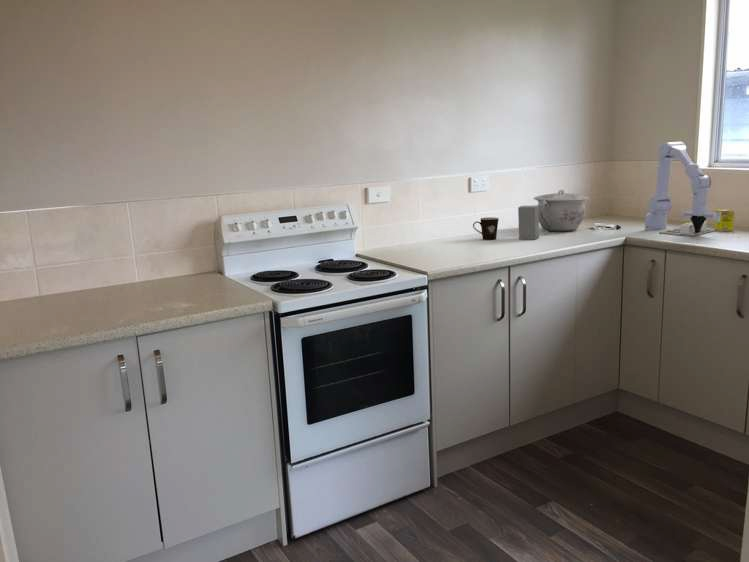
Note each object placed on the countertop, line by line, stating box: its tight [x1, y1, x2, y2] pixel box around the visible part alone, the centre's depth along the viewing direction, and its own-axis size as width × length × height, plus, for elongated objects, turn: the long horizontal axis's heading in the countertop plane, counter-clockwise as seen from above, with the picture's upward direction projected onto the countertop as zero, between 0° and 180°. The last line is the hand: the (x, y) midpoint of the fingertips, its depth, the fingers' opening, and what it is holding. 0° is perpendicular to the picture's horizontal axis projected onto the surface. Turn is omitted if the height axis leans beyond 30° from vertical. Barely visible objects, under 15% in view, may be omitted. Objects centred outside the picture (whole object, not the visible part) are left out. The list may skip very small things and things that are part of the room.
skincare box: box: [517, 204, 540, 240], centre depth 315 cm, size 8×7×16 cm
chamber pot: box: [533, 189, 590, 233], centre depth 341 cm, size 28×27×21 cm
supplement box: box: [714, 209, 735, 232], centre depth 315 cm, size 6×6×11 cm
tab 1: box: [679, 222, 694, 235], centre depth 305 cm, size 4×4×5 cm
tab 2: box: [700, 221, 708, 231], centre depth 314 cm, size 4×4×5 cm
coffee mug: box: [472, 216, 500, 241], centre depth 319 cm, size 12×9×10 cm
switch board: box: [658, 227, 718, 238], centre depth 312 cm, size 16×24×2 cm, turn 130°
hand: (697, 232), depth 302 cm, fingers closed
